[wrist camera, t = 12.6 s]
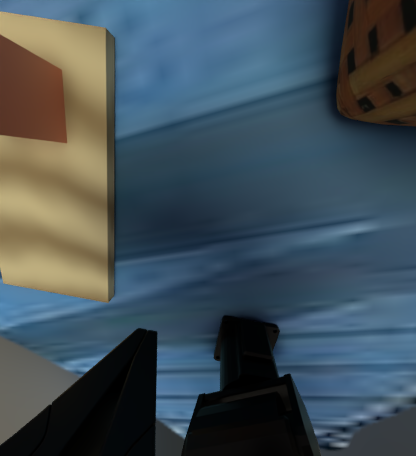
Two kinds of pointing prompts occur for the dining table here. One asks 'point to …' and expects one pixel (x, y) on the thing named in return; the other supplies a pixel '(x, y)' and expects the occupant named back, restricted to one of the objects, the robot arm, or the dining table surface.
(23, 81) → the reddish brown block
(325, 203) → the dining table surface
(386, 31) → the basket
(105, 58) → the brass board
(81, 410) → the robot arm
